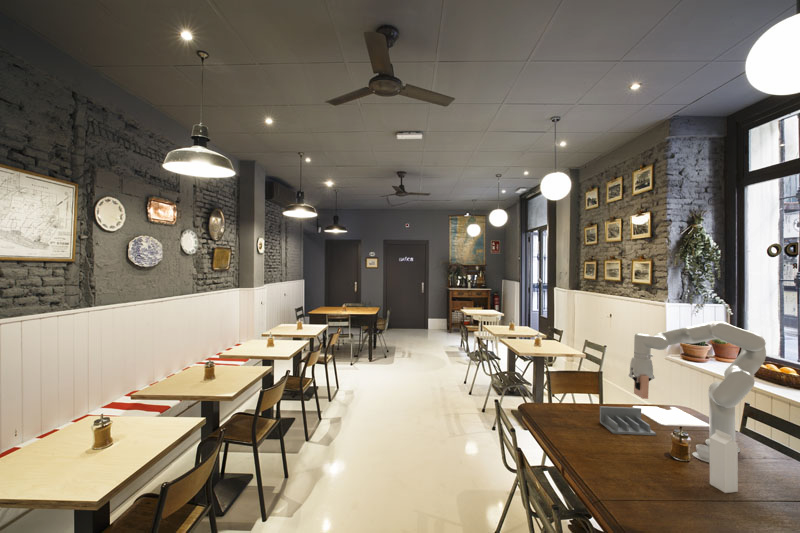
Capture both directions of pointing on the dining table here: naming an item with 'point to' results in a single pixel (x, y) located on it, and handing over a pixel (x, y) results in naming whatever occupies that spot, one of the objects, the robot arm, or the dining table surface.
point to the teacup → (702, 452)
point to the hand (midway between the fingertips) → (641, 389)
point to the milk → (723, 462)
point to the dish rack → (624, 421)
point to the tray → (671, 416)
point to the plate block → (642, 387)
